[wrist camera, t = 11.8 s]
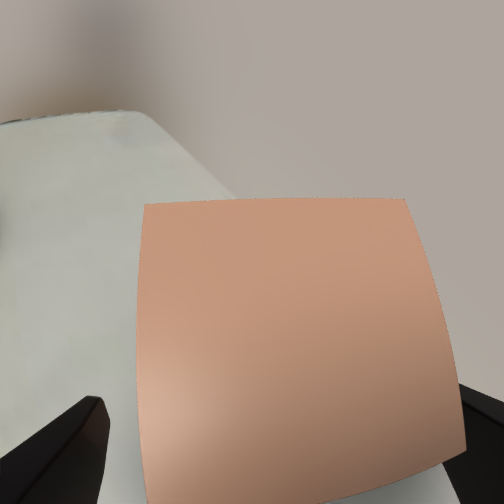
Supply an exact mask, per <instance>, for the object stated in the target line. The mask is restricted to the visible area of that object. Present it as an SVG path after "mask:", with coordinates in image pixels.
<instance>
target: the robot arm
mask: <svg viewBox="0 0 504 504" xmlns="http://www.w3.org/2000/svg"><path fill="white" fill-rule="evenodd" d="M458 384H459V383H458ZM459 390H460V396H461V403H462V411H463V419H464V428H465V439H466V451H464V452H462V453H461V454H459V455H457V456H455V457H453V458H451V459H448V460H446V461H444V462H442V464H443V466H444V468H445V470H446V472H447V475H448V477H449V479H450V481H451V483H452V486H453V488H454V490H455V492H456V495H457V497H458V499H459V501H460V504H504V402H502V401H500V400H497V399H495V398H492V397H490V396H488V395H485V394H483V393H480V392H478V391H476V390H473V389H471V388H468V387H466V386H464V385H462V384H459ZM109 431H110V418H109V415H108V413H107V410H106V407H105V404H104V401H103V399H102V398H101V397H97V396H86V397H84V398H83V399H82V400H80V401H79V402H78V403H76V404H75V405H73V406H72V407H71V408H69V409H68V410H67V411H65V412H64V413H63V414H61V415H60V416H59V417H57V418H56V419H54V420H53V421H52V422H50V423H49V424H48V425H46V426H45V427H43V428H42V429H41V430H39V431H38V432H37V433H35V434H34V435H32V436H31V437H30V438H28V439H27V440H25V441H24V442H23V443H21V444H20V445H19V446H17V447H16V448H14V449H13V450H12V451H10V452H9V453H7V454H6V455H5V456H3V457H2V458H0V504H97V500H98V496H99V492H100V487H101V483H102V479H103V474H104V468H105V461H106V453H107V445H108V438H109Z"/></svg>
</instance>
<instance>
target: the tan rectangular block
mask: <svg viewBox="0 0 504 504" xmlns="http://www.w3.org/2000/svg"><path fill="white" fill-rule="evenodd" d="M136 370H137V401H138V419H139V433H140V445H141V456H142V466H143V474H144V482H145V490H146V497H147V504H320V503H325V502H329V501H333V500H337V499H341V498H345V497H349V496H353V495H356V494H360V493H363V492H366V491H370V490H373V489H376V488H379V487H382V486H385V485H388V484H391V483H393V482H396V481H399V480H402V479H404V478H407V477H409V476H412V475H415V474H417V473H419V472H422V471H424V470H427V469H429V468H431V467H433V466H436V465H438V464H440V463H442V462H444V461H446V460H448V459H451V458H453V457H455V456H457V455H459V454H461V453H462V452H464V451H466V439H465V428H464V419H463V411H462V403H461V396H460V390H459V384H458V378H457V373H456V367H455V362H454V357H453V352H452V347H451V343H450V339H449V334H448V330H447V326H446V322H445V318H444V315H443V311H442V307H441V303H440V300H439V296H438V292H437V289H436V286H435V283H434V279H433V276H432V273H431V270H430V267H429V264H428V261H427V258H426V255H425V252H424V249H423V246H422V243H421V240H420V238H419V235H418V232H417V230H416V227H415V224H414V222H413V219H412V217H411V214H410V212H409V209H408V207H407V204H406V202H405V199H382V198H380V199H379V198H272V199H237V200H212V201H192V202H174V203H158V204H145V206H144V215H143V225H142V235H141V247H140V260H139V275H138V294H137V326H136Z"/></svg>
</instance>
